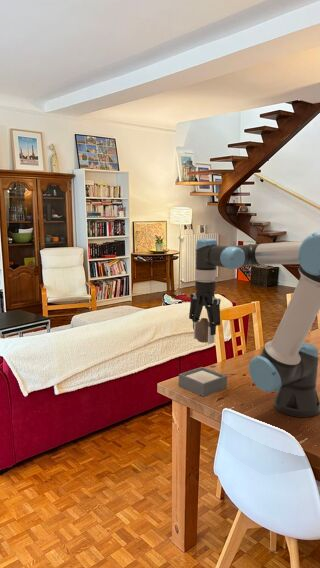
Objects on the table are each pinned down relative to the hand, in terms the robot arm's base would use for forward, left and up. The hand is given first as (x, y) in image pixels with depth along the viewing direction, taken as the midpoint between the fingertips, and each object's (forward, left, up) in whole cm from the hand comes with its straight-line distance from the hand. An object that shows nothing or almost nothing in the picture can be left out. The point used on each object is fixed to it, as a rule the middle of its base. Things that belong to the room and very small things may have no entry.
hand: (203, 340), depth 164 cm
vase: (0, 0, -1) cm, 1 cm away
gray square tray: (0, 0, -18) cm, 18 cm away
